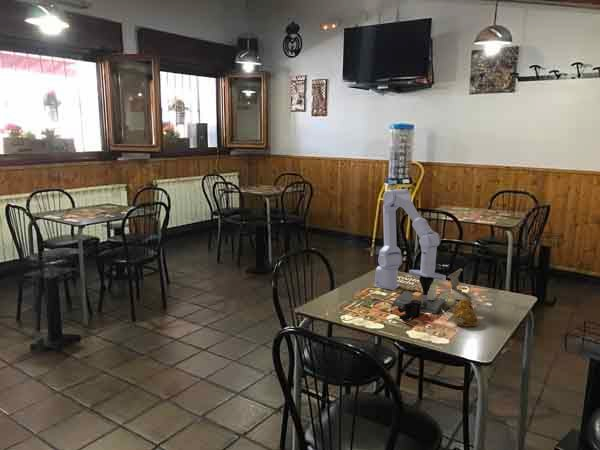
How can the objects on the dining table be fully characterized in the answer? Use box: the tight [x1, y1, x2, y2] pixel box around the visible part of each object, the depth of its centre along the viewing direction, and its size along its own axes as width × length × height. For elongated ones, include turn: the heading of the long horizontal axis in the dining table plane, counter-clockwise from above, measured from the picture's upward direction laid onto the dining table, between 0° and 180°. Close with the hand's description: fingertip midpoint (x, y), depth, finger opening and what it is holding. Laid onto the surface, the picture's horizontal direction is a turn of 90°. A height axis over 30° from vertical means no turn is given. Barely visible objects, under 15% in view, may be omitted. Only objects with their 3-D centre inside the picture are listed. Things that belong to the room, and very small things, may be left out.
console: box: [392, 291, 446, 315], centre depth 193 cm, size 17×15×2 cm
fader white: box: [427, 287, 438, 300], centre depth 194 cm, size 2×4×4 cm, turn 150°
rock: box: [452, 299, 479, 327], centre depth 175 cm, size 11×8×10 cm
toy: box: [397, 300, 422, 322], centre depth 178 cm, size 15×5×7 cm, turn 144°
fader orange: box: [412, 291, 423, 301], centre depth 189 cm, size 2×4×4 cm, turn 150°
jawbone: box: [447, 268, 473, 302], centre depth 204 cm, size 14×8×15 cm
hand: (425, 294), depth 195 cm, fingers closed
